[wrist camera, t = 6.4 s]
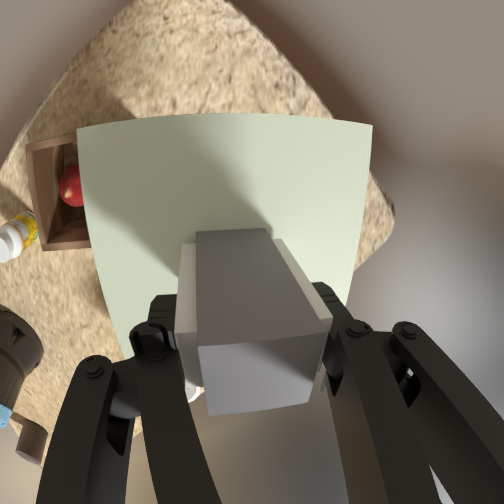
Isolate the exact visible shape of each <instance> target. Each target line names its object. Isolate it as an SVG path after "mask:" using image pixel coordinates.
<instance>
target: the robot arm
mask: <svg viewBox="0 0 504 504" xmlns="http://www.w3.org/2000/svg"><path fill="white" fill-rule="evenodd" d="M272 240H273V242H274V244H275V245H276V247H277V249H278V250H279V252H280V254H281V255H282V257H283V259H284V260H285V262H286V264H287V265H288V267H289V269H290V270H291V272H292V274H293V275H294V277H295V279H296V280H297V282H298V284H299V285H300V287H301V289H302V290H303V292H304V294H305V296H306V297H307V299H308V301H309V302H310V304H311V306H312V307H313V309H314V311H315V313H316V314H317V316H318V318H319V319H320V321H321V323H322V325H323V326H324V328H325V330H326V336H325V340H324V344H323V349H322V353H321V356H320V360H319V364H318V368H317V372H318V371H320V368H321V364H322V362H323V364H324V366H325V368H326V372H325V375H324V379H323V382H322V385H321V391H324V388H325V385H326V389H327V393H328V398H329V402H330V406H331V411H332V416H333V421H334V425H335V430H336V435H337V440H338V445H339V450H340V455H341V460H342V466H343V471H344V476H345V482H346V488H347V493H348V499H349V504H442V503H441V501H440V499H439V495H438V492H437V488H436V485H435V482H434V479H433V475H432V472H431V469H430V466H431V468H432V469H433V471H434V473H435V474H436V476H437V477H438V479H439V480H440V482H441V484H442V485H443V486H444V488H445V490H446V491H447V493H448V495H449V496H450V498H451V499H452V501H453V502H454V504H504V420H503V419H502V418H501V416H500V415H499V414H498V413H497V411H496V410H495V409H494V408H493V407H492V405H491V404H490V403H489V402H488V401H487V399H486V398H485V397H484V396H483V395H482V394H481V393H480V391H479V390H478V389H477V388H476V387H475V386H474V384H473V383H472V382H471V381H470V380H469V379H468V378H467V377H466V376H465V374H464V373H463V372H462V371H461V370H460V369H459V368H458V367H457V366H456V364H455V363H454V362H453V361H452V360H451V359H450V358H449V357H448V356H447V355H446V354H445V353H444V352H443V351H442V349H441V348H440V347H439V346H437V344H436V343H435V342H434V341H433V340H432V339H431V338H430V337H429V336H428V335H427V334H426V333H425V332H424V331H423V330H422V329H421V328H420V327H418V326H417V325H416V324H414V323H411V322H406V321H403V322H398V323H397V324H395V325H394V327H393V329H392V332H380V331H379V332H378V331H373V329H372V328H371V327H370V325H368V324H367V323H365V322H363V321H360V320H356V319H354V318H353V317H352V316H351V314H350V313H349V312H348V310H347V309H346V307H345V306H344V304H343V303H342V302H341V301H340V299H339V298H338V296H337V295H336V294H335V292H334V291H333V289H332V288H331V287H330V286H328V285H327V284H325V283H324V282H312V283H311V282H310V281H309V279H308V278H307V276H306V274H305V273H304V271H303V270H302V268H301V267H300V266H299V264H298V263H297V261H296V260H295V258H294V257H293V255H292V254H291V252H290V251H289V249H288V248H287V246H286V245H285V243H284V242H283V240H282V239H281V238H278V239H272ZM129 340H130V343H131V346H132V349H133V352H134V356H133V357H131V358H129V359H126V360H123V361H119V362H115V363H112V362H111V360H109V359H108V358H107V357H105V356H101V355H92V356H89V357H87V358H85V359H84V360H82V361H81V362H80V363H79V365H78V366H77V368H76V370H75V372H74V375H73V377H72V380H71V383H70V385H69V388H68V390H67V393H66V396H65V399H64V401H63V404H62V407H61V410H60V413H59V416H58V419H57V422H56V425H55V428H54V431H53V434H52V438H51V441H50V444H49V448H48V452H47V455H46V459H45V463H44V467H43V471H42V475H41V480H40V484H39V489H38V495H37V499H36V504H125V496H126V484H127V475H128V466H129V458H130V450H131V442H132V436H133V430H134V423H135V417H138V416H141V421H142V428H143V434H144V441H145V446H146V452H147V457H148V463H149V467H150V472H151V476H152V481H153V486H154V490H155V494H156V498H157V502H158V504H222V503H221V500H220V498H219V495H218V492H217V490H216V487H215V484H214V482H213V479H212V476H211V474H210V471H209V468H208V465H207V462H206V459H205V456H204V453H203V450H202V447H201V444H200V441H199V437H198V434H197V431H196V428H195V424H194V421H193V417H192V414H191V411H190V407H189V403H188V399H187V395H186V392H185V384H186V388H191V387H204V384H203V378H202V372H201V366H200V360H199V353H198V347H197V320H196V243H188V244H182V249H181V258H180V268H179V278H178V289H177V294H165V295H156V297H155V298H154V299H153V300H152V301H151V303H150V308H149V313H148V319H147V321H145V322H141V323H139V324H138V325H136V326H134V327H133V329H132V330H131V331H130V334H129ZM43 353H44V351H43V346H42V343H41V341H40V339H39V337H38V336H37V334H36V333H35V332H34V330H33V329H32V328H31V327H30V326H29V325H28V324H27V323H26V322H25V321H24V320H22V319H21V318H19V317H18V316H16V315H14V314H12V313H10V312H6V311H0V428H3V427H5V426H6V425H7V423H8V421H9V419H10V417H11V415H12V413H13V412H12V411H13V408H14V406H15V403H16V400H17V397H18V395H19V392H20V389H21V387H22V384H23V382H24V380H25V378H26V377H27V376H28V375H29V374H30V373H31V372H32V371H33V370H34V369H35V368H36V367H37V366H38V365H39V364H40V362H41V360H42V357H43ZM409 368H410V369H411V371H412V372H413V373H414V374H413V375H412V376H410V375H409V374H408V373H407V372H408V370H409ZM429 465H430V466H429Z"/></svg>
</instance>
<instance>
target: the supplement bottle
mask: <svg viewBox="0 0 504 504" xmlns="http://www.w3.org/2000/svg"><path fill="white" fill-rule="evenodd" d="M38 236H39V234H38V230H37V225H36V220H35V215H34V214H33V213H32V212H30V211H23V212H21V213H20V214H18V215H17V216H15V217H14V218H13V219H11V220H10V221H8V222H7V223H5V224H4V225H3V226H1V227H0V262H2V263H4V262H6V261H8V260H9V259H10V258H16V257H18V256H19V255H20V254H21V253H22V252H23V251H24V250H25V249H26V248H27V247H28V246H29V245H30V244H31V243H32V242H34V241H35V240H36V239H37V237H38Z"/></svg>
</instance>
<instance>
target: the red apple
mask: <svg viewBox="0 0 504 504" xmlns="http://www.w3.org/2000/svg"><path fill="white" fill-rule="evenodd" d="M59 192H60V196H61V198H62V199H63V201H64V202H65V203H67V204H68V205H70V206H75V207H80V206H84V202H83V195H82V188H81V179H80V170H79V164H75V165H72V166H70V167H69V168H68V169H67V170H66V171H65V172H64V173H63V175H62V177H61V179H60V182H59Z"/></svg>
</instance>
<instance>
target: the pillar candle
mask: <svg viewBox="0 0 504 504" xmlns="http://www.w3.org/2000/svg"><path fill="white" fill-rule="evenodd" d="M47 436H48V433H47V431H46V430H45V429H44V428H43V427H41V426H40V425H38V424H36V423H34V422H32V421H29V420H25V421H24V424H23V427H22V430H21V433H20V437H19V441H18V444H17V448H16V453H17V454H18V455H20V456H21V457H22V458H24V459H25V460H27V461H29V462H31V463H33V464H36V465H41V461H42V456H43V452H44V448H45V444H46V440H47Z"/></svg>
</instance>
